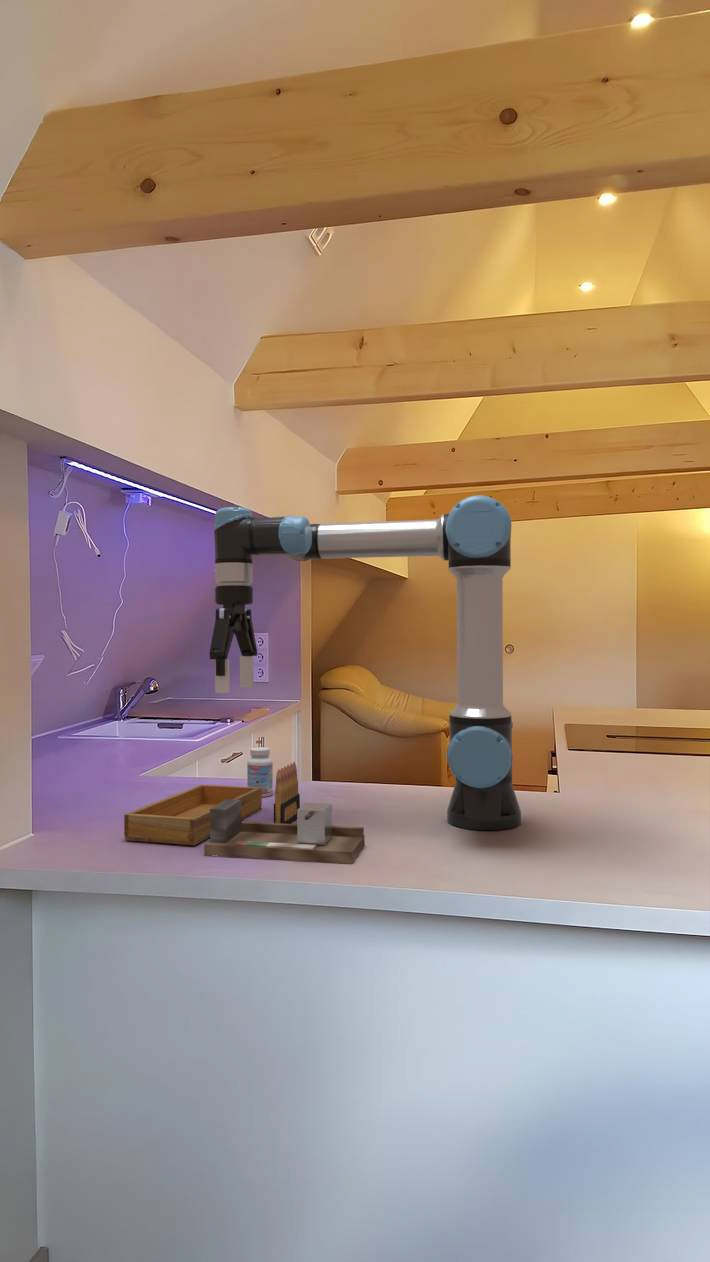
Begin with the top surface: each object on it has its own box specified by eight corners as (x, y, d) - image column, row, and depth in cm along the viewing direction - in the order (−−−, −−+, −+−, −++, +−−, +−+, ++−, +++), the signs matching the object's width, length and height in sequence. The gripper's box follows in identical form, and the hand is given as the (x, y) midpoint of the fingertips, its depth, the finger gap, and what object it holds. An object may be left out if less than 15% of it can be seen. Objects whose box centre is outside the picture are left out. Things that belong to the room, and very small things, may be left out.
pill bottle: (244, 797, 185) (243, 750, 185) (251, 792, 191) (251, 746, 191) (268, 798, 184) (268, 750, 184) (275, 792, 190) (275, 746, 190)
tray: (201, 807, 178) (200, 782, 178) (261, 811, 173) (261, 785, 173) (123, 843, 148) (123, 814, 148) (194, 849, 144) (194, 819, 144)
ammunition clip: (281, 830, 156) (281, 770, 156) (273, 829, 156) (272, 769, 156) (300, 817, 166) (299, 761, 166) (292, 816, 167) (291, 760, 166)
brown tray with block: (364, 845, 144) (364, 802, 144) (352, 863, 133) (351, 817, 133) (227, 838, 150) (226, 797, 149) (204, 855, 139) (204, 810, 139)
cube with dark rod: (332, 836, 142) (331, 803, 142) (320, 849, 134) (320, 815, 134) (305, 835, 144) (305, 802, 143) (292, 848, 135) (292, 814, 135)
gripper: (238, 588, 170) (239, 684, 170) (190, 582, 146) (192, 695, 146) (271, 587, 169) (272, 685, 169) (228, 581, 144) (229, 695, 144)
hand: (235, 690), depth 157 cm, fingers open, 13 cm apart
